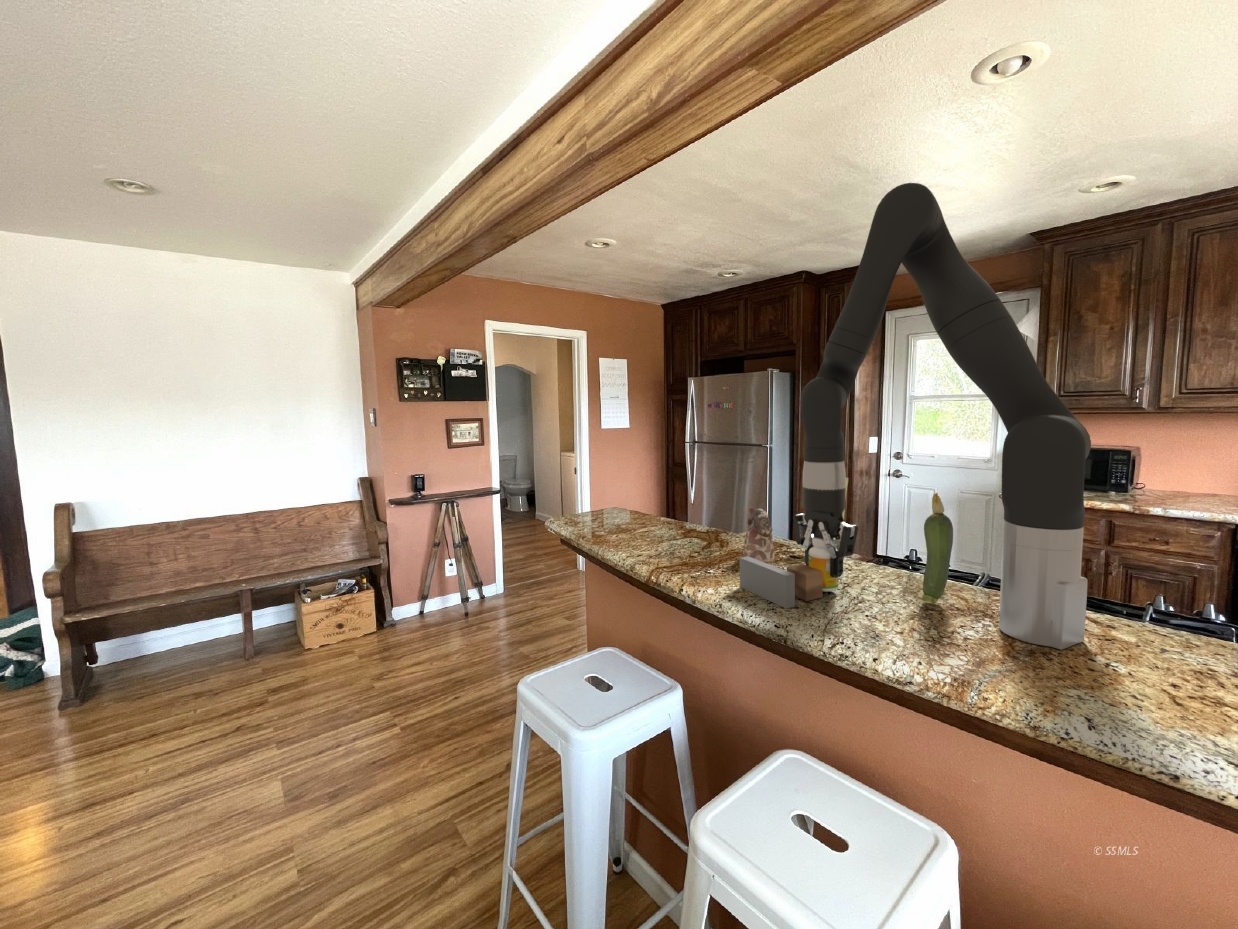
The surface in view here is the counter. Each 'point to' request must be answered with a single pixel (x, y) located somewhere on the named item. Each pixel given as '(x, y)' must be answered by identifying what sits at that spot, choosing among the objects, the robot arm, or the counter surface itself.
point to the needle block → (807, 582)
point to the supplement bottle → (822, 563)
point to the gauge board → (768, 581)
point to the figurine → (759, 537)
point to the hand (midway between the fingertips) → (823, 572)
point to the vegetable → (937, 551)
